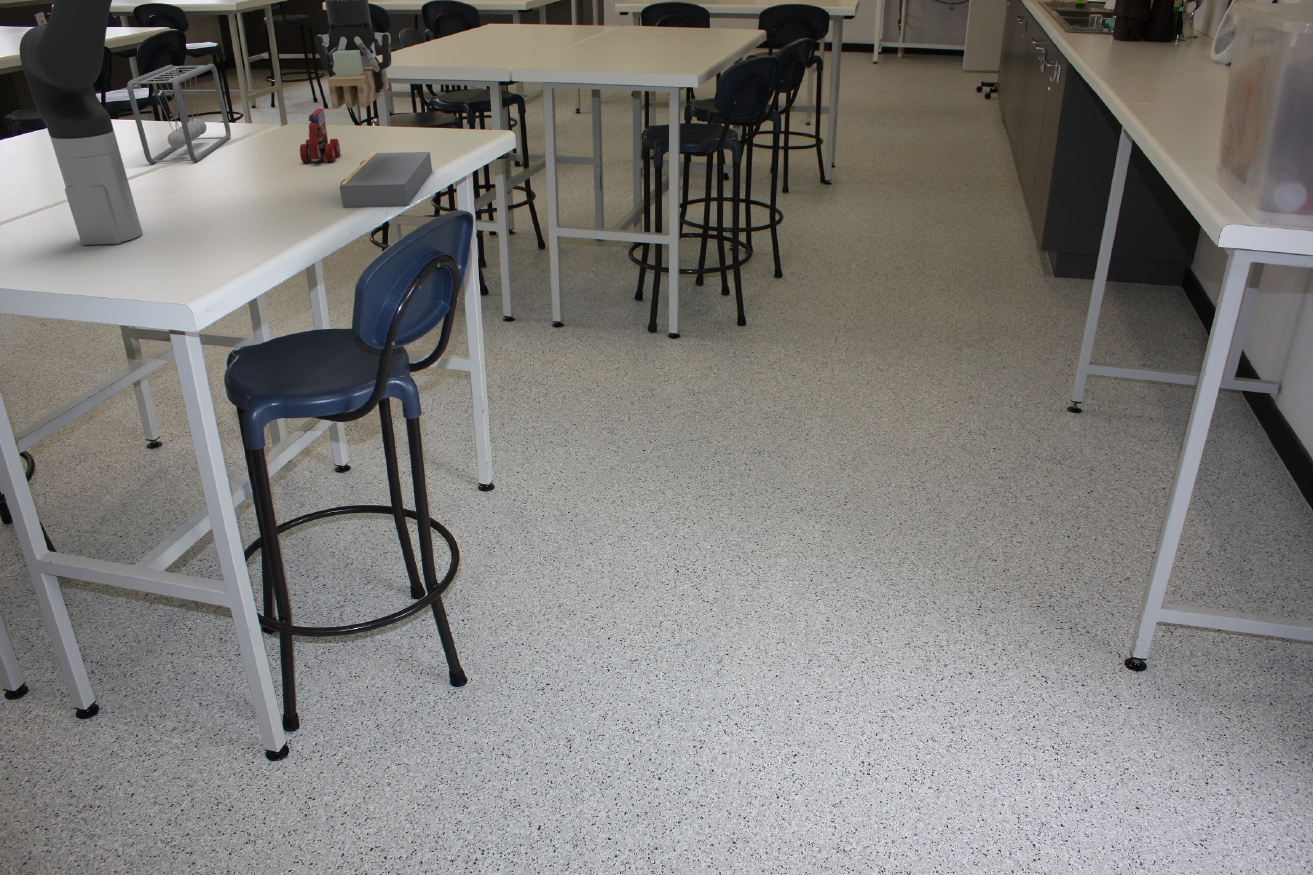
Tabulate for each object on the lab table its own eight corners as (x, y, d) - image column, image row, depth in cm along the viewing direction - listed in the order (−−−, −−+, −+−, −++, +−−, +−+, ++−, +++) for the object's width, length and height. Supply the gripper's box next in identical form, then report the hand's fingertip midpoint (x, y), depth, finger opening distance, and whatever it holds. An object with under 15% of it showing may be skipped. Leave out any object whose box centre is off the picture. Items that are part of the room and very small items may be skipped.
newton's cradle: (196, 164, 211) (175, 80, 202) (147, 166, 210) (124, 82, 201) (232, 138, 237) (215, 62, 228) (189, 139, 236) (170, 63, 227)
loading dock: (407, 205, 177) (404, 183, 175) (337, 207, 177) (333, 184, 175) (432, 171, 202) (429, 151, 199) (370, 172, 201) (367, 152, 199)
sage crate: (358, 76, 172) (354, 52, 170) (336, 77, 171) (332, 53, 170) (363, 73, 175) (359, 50, 173) (341, 73, 175) (337, 50, 173)
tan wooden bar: (366, 107, 172) (361, 78, 169) (332, 108, 171) (327, 79, 169) (389, 88, 191) (385, 62, 189) (359, 89, 191) (354, 62, 188)
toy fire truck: (299, 167, 207) (290, 117, 202) (312, 154, 218) (303, 107, 213) (332, 165, 208) (323, 116, 203) (343, 153, 219) (335, 106, 214)
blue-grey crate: (372, 66, 183) (369, 44, 181) (352, 67, 182) (348, 45, 181) (377, 64, 186) (373, 42, 184) (356, 64, 186) (352, 42, 184)
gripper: (300, -1, 169) (318, 97, 177) (381, -4, 170) (396, 95, 178) (311, -5, 176) (328, 90, 184) (389, -7, 176) (403, 88, 184)
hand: (361, 92), depth 181 cm, fingers closed on tan wooden bar, 6 cm apart
